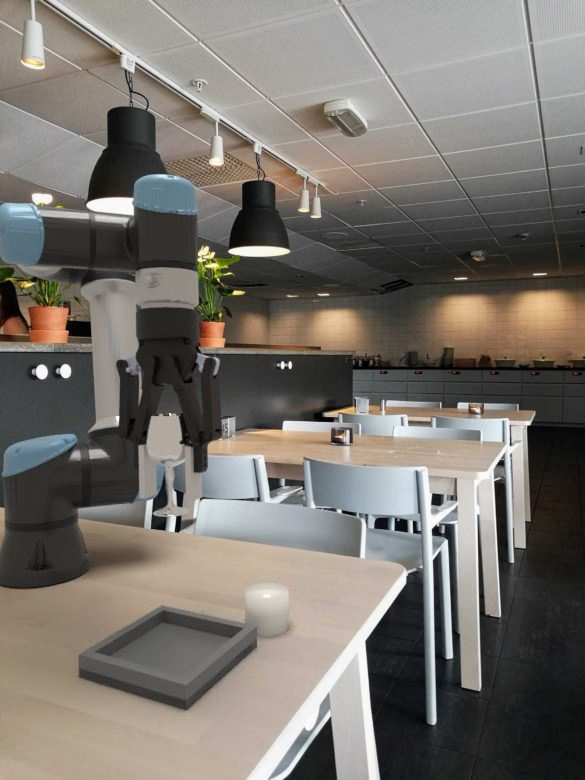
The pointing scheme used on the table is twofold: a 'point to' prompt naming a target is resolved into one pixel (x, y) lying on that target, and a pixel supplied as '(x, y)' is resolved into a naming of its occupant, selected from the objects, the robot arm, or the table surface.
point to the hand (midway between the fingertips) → (170, 497)
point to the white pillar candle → (267, 608)
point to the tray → (169, 655)
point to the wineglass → (167, 452)
